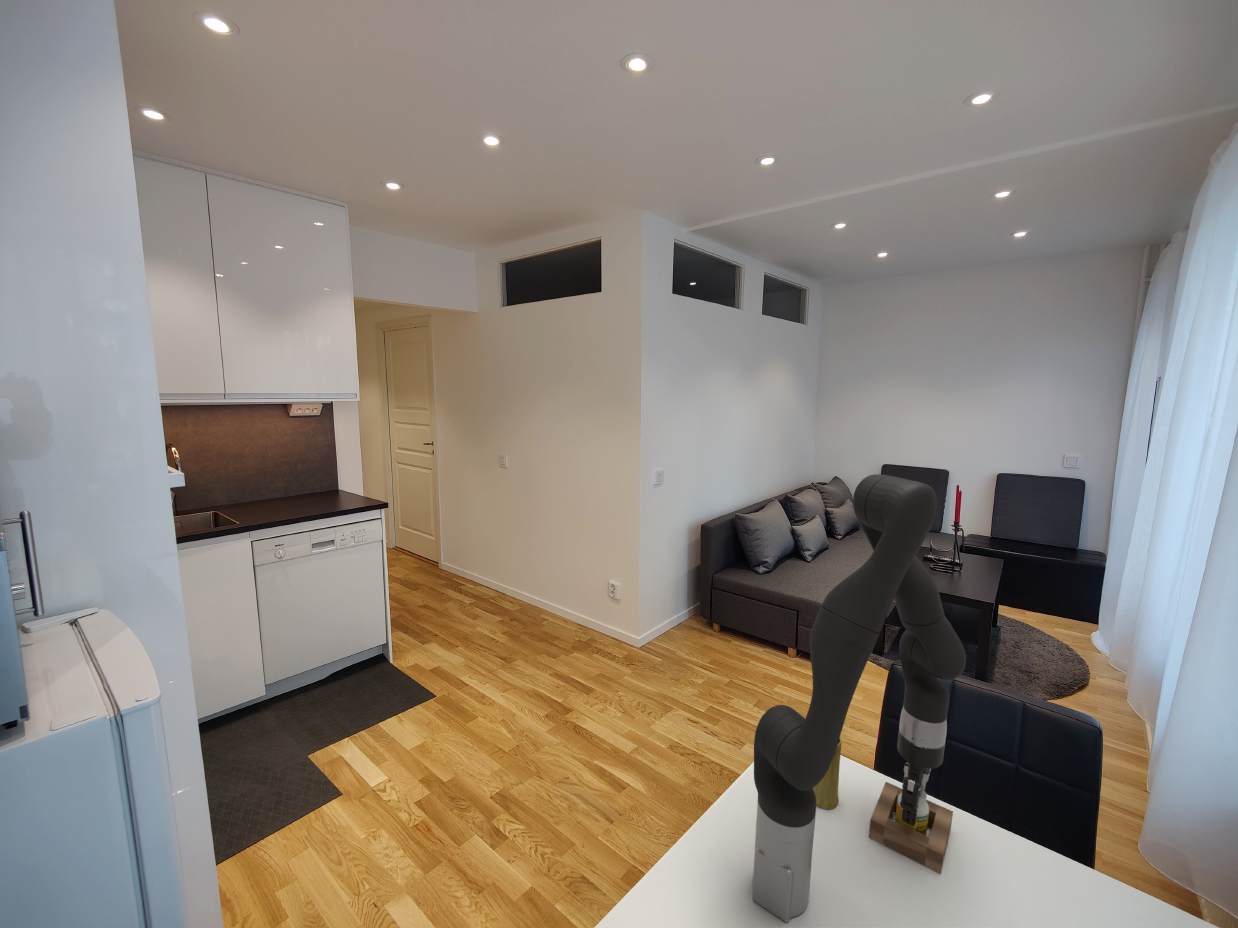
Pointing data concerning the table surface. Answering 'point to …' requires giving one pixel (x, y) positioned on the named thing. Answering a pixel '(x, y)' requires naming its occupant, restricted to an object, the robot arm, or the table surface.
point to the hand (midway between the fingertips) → (913, 807)
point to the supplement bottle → (920, 818)
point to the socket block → (911, 830)
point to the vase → (829, 783)
